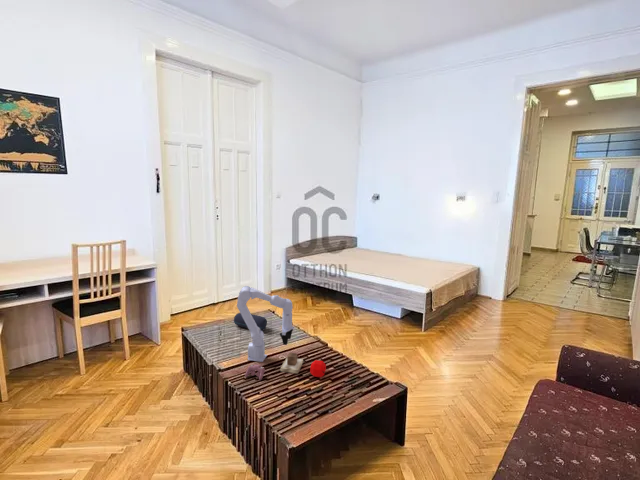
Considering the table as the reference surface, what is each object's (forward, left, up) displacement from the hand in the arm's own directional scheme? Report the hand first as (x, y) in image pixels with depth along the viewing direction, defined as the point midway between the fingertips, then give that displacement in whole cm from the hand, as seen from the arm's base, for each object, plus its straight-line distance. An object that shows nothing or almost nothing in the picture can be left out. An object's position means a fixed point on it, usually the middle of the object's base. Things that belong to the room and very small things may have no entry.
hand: (286, 341), depth 202 cm
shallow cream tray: (+6, -10, -10) cm, 15 cm away
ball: (+22, -15, -10) cm, 28 cm away
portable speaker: (-36, +34, -10) cm, 51 cm away
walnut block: (+6, -10, -8) cm, 14 cm away
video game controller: (-11, -24, -10) cm, 28 cm away
